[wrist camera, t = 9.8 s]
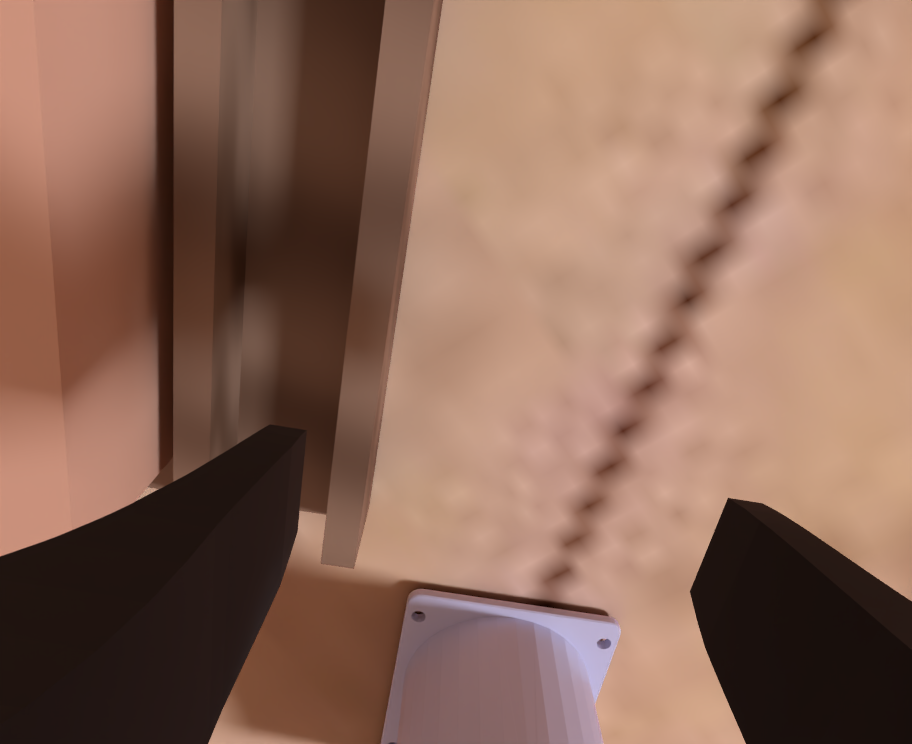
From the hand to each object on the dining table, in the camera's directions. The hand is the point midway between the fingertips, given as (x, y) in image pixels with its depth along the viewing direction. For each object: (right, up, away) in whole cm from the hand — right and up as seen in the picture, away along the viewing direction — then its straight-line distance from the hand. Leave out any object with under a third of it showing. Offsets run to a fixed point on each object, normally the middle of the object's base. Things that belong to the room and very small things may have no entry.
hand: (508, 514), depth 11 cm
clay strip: (-9, +7, +6) cm, 13 cm away
